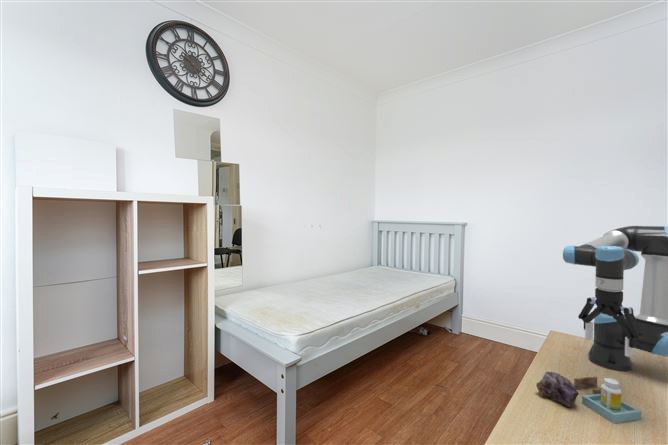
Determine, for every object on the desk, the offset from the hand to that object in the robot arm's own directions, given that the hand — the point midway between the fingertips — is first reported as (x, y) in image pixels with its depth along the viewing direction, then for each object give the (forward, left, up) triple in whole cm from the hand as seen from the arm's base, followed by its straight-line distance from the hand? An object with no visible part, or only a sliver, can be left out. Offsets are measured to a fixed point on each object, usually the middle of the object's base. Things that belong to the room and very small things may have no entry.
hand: (607, 347), depth 111 cm
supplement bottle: (+3, +3, -20) cm, 21 cm away
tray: (+3, +3, -21) cm, 22 cm away
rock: (+14, -6, -21) cm, 26 cm away
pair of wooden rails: (-3, -7, -21) cm, 22 cm away
